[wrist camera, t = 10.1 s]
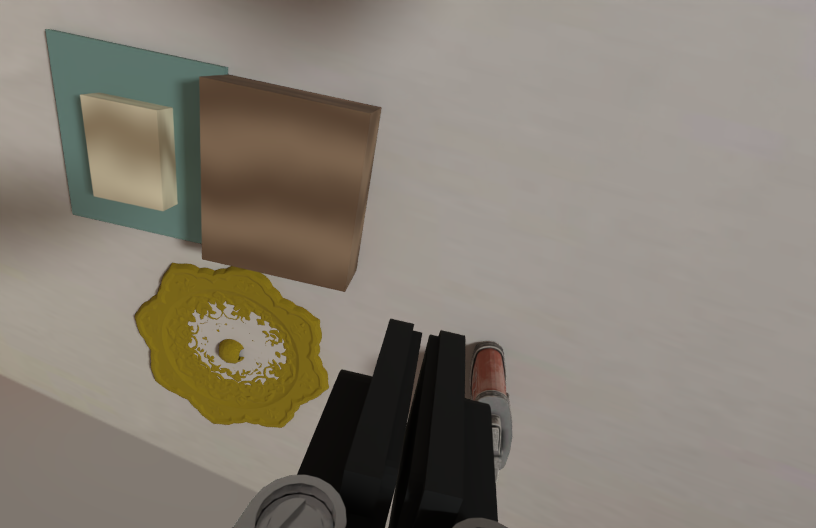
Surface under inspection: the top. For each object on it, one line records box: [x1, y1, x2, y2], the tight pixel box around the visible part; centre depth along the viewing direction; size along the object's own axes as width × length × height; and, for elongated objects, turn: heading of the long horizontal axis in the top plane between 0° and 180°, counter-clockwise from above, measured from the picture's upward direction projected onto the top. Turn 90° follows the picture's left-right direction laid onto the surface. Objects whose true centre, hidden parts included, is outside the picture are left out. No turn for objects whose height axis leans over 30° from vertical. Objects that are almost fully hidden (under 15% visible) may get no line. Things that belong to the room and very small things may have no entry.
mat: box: [45, 29, 228, 244], centre depth 37 cm, size 15×14×1 cm
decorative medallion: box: [135, 263, 329, 428], centre depth 45 cm, size 20×20×1 cm
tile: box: [80, 93, 178, 211], centre depth 36 cm, size 8×6×2 cm
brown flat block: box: [199, 74, 381, 292], centre depth 35 cm, size 14×12×4 cm
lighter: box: [470, 341, 512, 482], centre depth 38 cm, size 8×3×10 cm, turn 2°
